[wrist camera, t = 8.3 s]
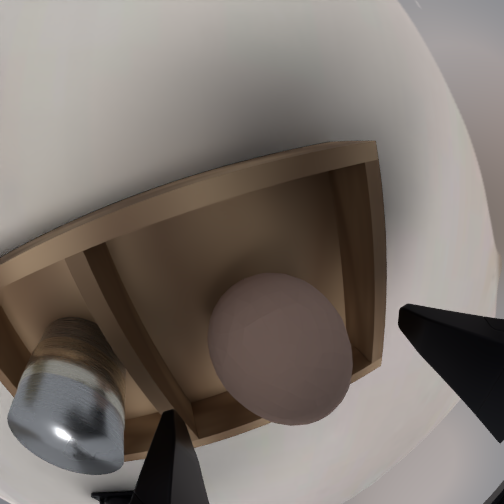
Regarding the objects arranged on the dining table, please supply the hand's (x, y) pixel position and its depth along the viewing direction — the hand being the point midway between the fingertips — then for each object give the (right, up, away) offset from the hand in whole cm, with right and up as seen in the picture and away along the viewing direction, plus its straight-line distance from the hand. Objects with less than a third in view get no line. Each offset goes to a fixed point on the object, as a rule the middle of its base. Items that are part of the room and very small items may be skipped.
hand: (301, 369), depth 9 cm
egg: (-2, +2, +5) cm, 6 cm away
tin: (-11, -2, +3) cm, 11 cm away
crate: (-5, +1, +5) cm, 7 cm away
